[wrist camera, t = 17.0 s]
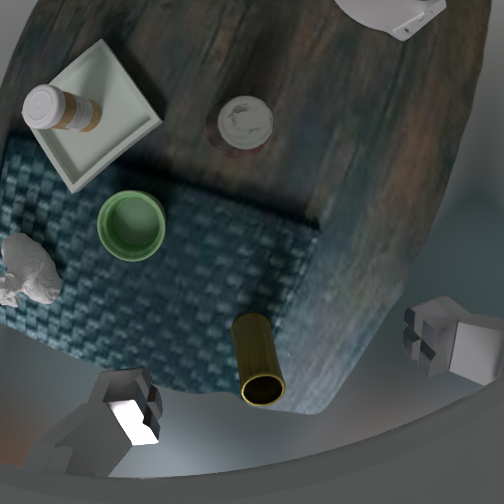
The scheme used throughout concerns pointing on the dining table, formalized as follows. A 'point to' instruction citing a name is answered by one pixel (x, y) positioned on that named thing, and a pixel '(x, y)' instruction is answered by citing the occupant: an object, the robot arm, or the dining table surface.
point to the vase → (257, 360)
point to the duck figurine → (27, 271)
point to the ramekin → (132, 225)
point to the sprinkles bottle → (60, 110)
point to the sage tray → (111, 123)
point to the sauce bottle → (239, 126)
